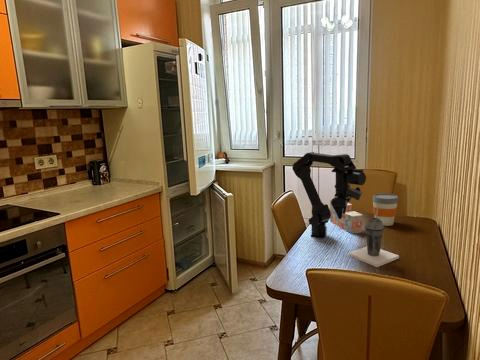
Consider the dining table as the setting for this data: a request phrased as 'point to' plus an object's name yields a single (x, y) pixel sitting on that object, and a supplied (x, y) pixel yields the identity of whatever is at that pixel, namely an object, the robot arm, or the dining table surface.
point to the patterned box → (347, 219)
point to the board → (373, 257)
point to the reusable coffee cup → (385, 207)
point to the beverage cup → (374, 235)
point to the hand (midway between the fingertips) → (342, 216)
